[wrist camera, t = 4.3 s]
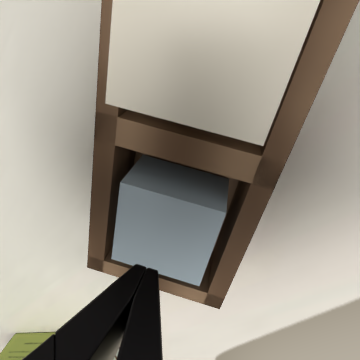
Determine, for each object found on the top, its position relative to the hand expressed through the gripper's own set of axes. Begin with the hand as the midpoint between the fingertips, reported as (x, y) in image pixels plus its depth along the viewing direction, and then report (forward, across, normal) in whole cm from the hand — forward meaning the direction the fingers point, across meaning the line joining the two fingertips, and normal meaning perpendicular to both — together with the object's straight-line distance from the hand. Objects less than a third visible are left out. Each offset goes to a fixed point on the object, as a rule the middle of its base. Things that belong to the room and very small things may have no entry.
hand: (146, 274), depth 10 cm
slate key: (+10, 0, +4) cm, 10 cm away
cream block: (+7, 0, -8) cm, 10 cm away
